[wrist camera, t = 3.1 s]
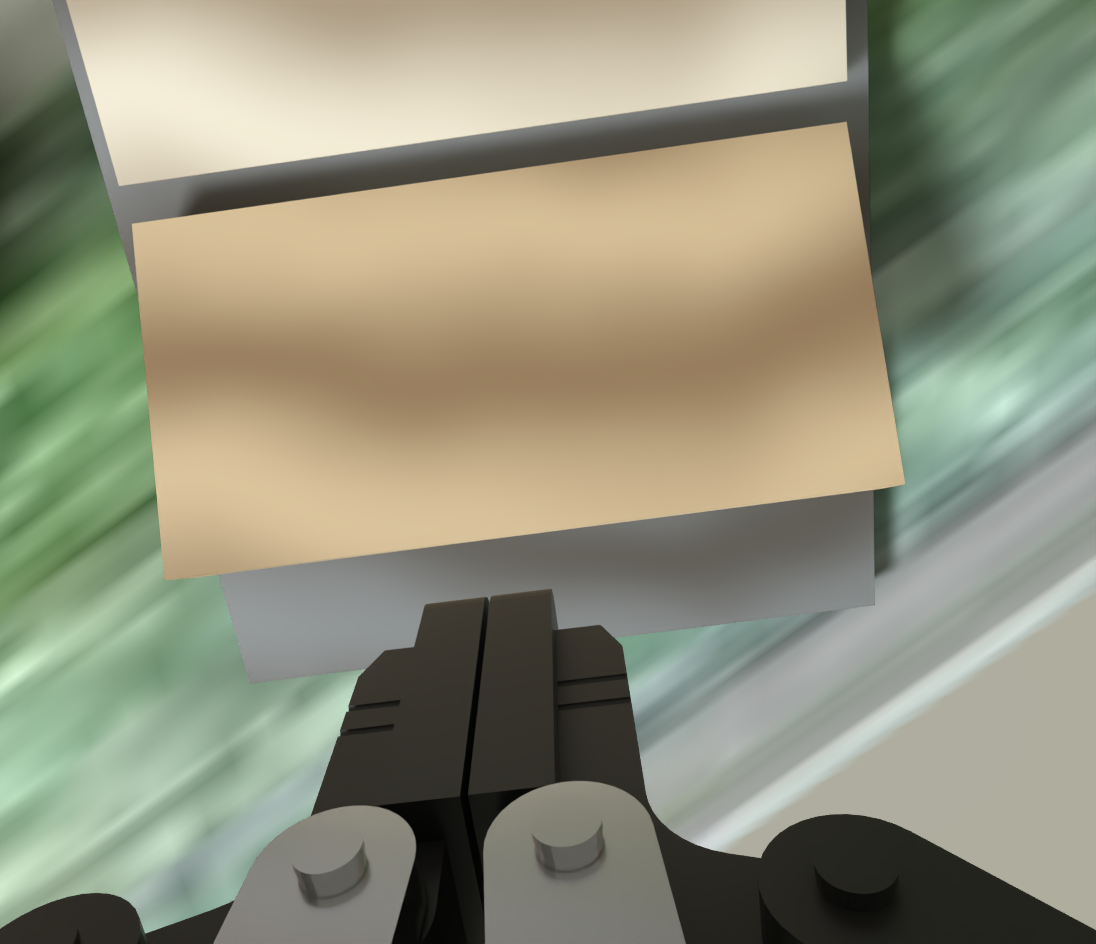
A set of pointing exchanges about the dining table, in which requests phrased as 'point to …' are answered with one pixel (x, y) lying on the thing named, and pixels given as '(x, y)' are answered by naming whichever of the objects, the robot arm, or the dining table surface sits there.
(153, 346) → the oak plank
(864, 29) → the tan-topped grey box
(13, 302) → the dining table surface
